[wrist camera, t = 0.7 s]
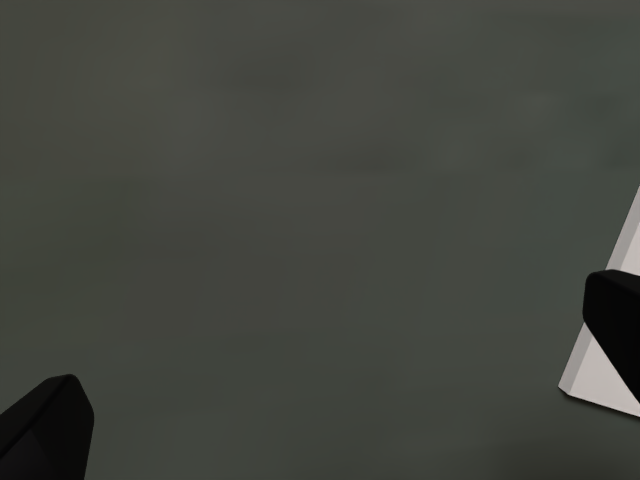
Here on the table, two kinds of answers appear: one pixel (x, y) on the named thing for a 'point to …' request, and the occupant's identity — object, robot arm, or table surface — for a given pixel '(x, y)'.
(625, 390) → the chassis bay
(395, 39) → the table surface
